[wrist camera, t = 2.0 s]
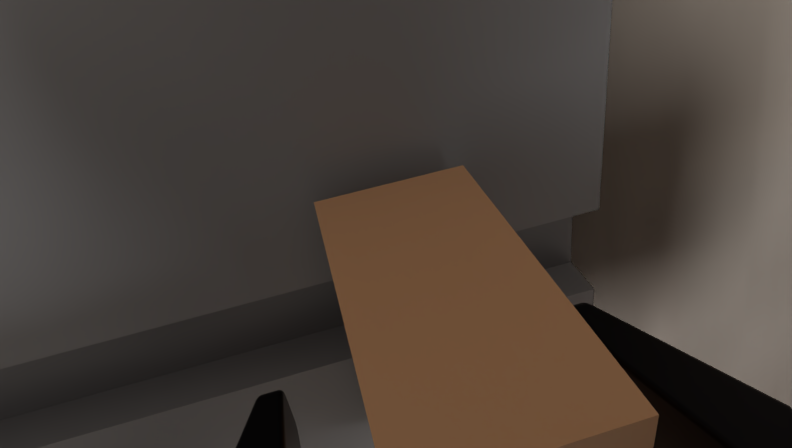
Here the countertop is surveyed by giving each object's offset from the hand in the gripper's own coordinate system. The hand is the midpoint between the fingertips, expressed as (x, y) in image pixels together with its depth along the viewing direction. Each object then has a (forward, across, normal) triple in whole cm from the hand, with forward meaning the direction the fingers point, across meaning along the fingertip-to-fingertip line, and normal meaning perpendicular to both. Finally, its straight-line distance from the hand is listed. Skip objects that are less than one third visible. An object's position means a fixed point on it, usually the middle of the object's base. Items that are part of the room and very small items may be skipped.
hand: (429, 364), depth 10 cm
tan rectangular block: (+2, 0, 0) cm, 2 cm away
